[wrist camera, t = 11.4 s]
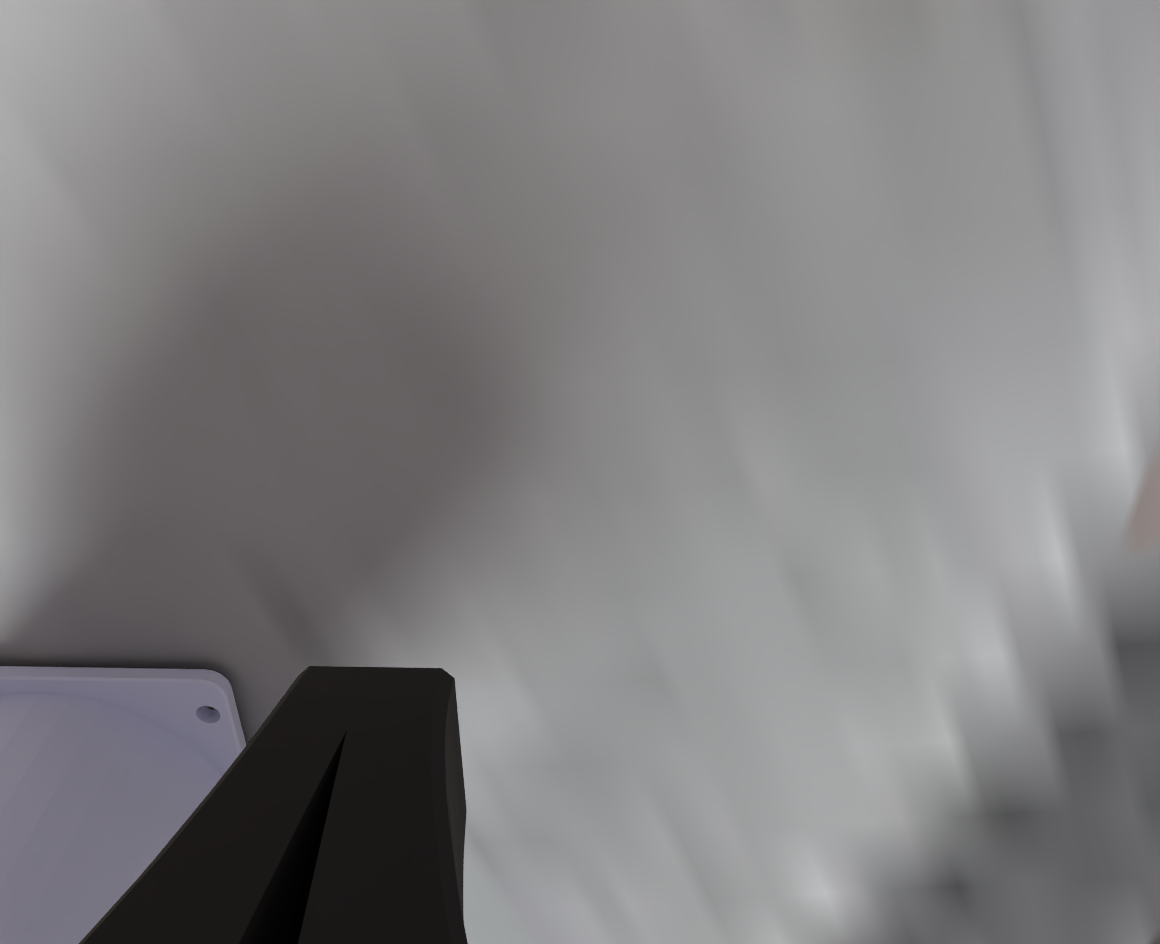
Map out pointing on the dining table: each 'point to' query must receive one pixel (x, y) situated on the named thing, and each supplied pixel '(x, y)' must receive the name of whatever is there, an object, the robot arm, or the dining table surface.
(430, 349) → the dining table surface
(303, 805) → the robot arm
